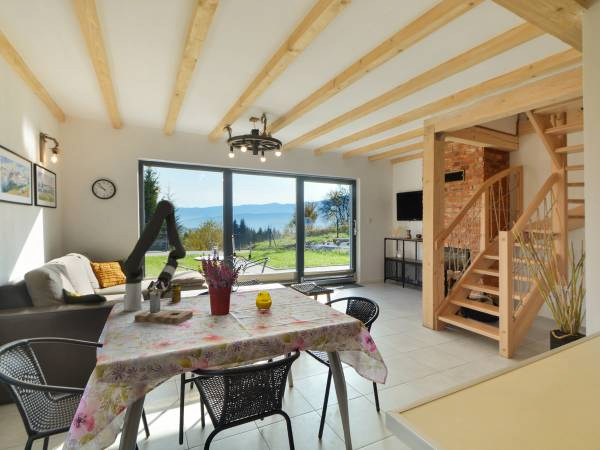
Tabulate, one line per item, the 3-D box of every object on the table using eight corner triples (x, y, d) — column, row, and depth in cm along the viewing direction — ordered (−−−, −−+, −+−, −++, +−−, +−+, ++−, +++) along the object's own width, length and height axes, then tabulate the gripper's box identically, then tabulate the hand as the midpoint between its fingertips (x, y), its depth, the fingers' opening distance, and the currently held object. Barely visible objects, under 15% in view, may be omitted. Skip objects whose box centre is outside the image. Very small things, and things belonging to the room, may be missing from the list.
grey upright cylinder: (149, 312, 185) (149, 292, 185) (154, 311, 189) (154, 290, 189) (155, 313, 184) (155, 292, 184) (160, 311, 188) (160, 291, 188)
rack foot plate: (134, 320, 181) (134, 314, 181) (150, 313, 195) (150, 308, 195) (179, 323, 176) (179, 317, 176) (192, 316, 189) (192, 310, 189)
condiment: (183, 301, 225) (183, 284, 225) (171, 303, 219) (171, 286, 219) (178, 299, 230) (178, 283, 230) (166, 301, 225) (166, 284, 224)
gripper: (153, 270, 196) (140, 293, 185) (174, 271, 193) (162, 294, 182) (159, 277, 201) (147, 300, 190) (179, 278, 199) (168, 301, 187)
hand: (154, 297), depth 186 cm, fingers open, 8 cm apart
